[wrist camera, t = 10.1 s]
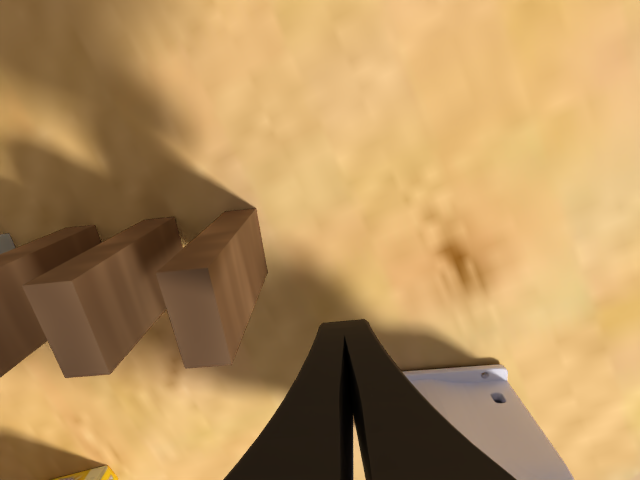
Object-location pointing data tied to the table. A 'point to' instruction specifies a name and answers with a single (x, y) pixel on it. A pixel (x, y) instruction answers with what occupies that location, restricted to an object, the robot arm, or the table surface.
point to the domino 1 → (6, 243)
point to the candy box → (92, 474)
